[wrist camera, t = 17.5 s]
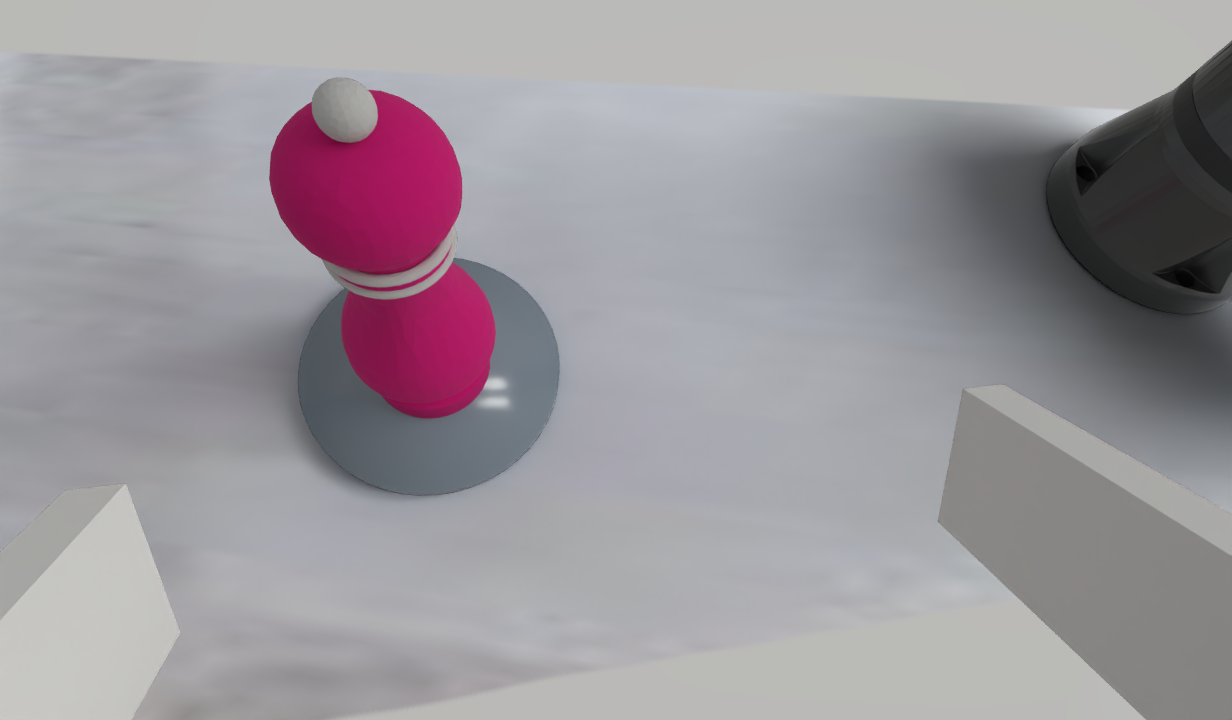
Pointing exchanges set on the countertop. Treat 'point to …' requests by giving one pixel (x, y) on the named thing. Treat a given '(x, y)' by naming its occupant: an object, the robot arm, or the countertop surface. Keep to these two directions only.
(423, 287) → the pepper mill
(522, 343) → the saucer
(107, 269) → the countertop surface
